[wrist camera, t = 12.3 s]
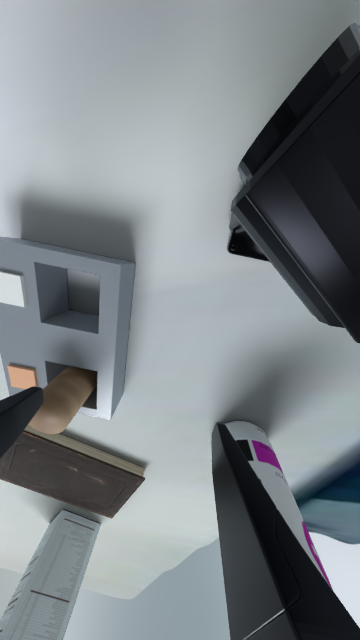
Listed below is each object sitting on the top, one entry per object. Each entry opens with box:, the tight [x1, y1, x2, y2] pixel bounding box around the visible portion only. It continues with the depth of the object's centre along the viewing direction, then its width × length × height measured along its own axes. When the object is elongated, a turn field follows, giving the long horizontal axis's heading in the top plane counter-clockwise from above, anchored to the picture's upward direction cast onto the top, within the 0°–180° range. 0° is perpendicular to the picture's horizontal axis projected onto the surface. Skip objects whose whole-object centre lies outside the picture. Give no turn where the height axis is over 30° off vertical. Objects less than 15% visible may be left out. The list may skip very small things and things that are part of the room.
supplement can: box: [211, 421, 332, 589], centre depth 19 cm, size 8×8×15 cm
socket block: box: [0, 237, 136, 420], centre depth 19 cm, size 12×18×4 cm, turn 169°
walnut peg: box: [29, 366, 98, 434], centre depth 19 cm, size 4×4×8 cm
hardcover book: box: [0, 424, 145, 518], centre depth 31 cm, size 16×23×2 cm
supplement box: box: [0, 510, 100, 640], centre depth 31 cm, size 10×9×17 cm
